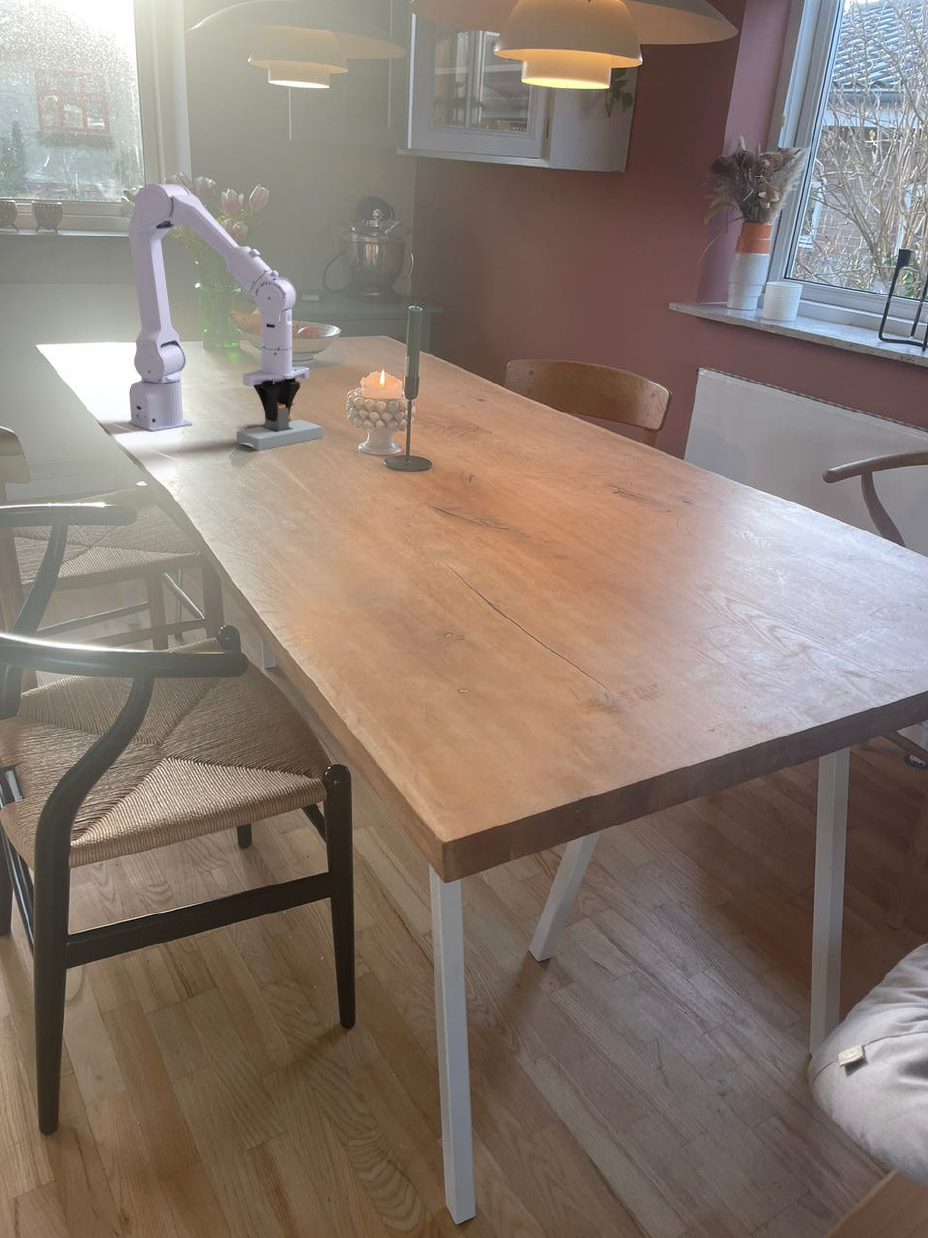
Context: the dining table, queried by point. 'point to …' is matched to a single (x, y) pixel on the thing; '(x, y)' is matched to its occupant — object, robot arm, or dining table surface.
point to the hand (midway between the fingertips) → (277, 419)
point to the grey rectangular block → (279, 419)
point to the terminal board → (280, 435)
